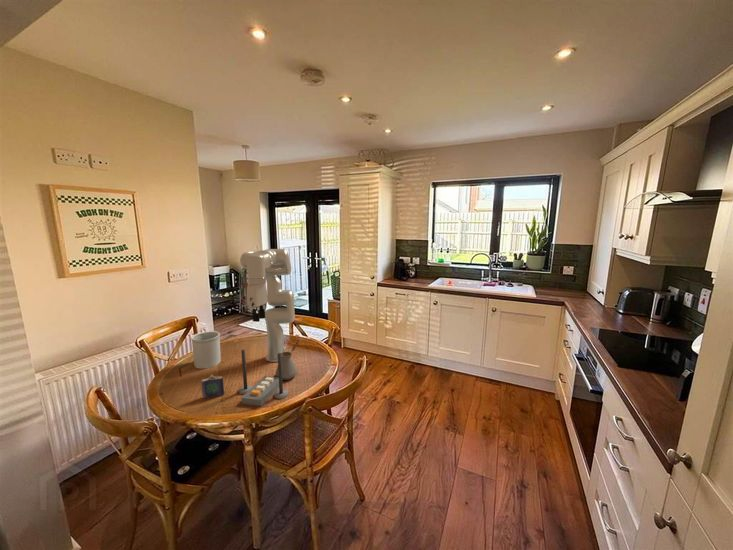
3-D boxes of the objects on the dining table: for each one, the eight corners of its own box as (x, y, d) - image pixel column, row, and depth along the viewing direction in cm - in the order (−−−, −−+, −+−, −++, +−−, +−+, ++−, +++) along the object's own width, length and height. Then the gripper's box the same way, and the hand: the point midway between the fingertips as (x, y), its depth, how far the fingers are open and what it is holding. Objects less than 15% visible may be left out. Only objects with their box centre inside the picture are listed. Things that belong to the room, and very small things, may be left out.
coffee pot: (291, 383, 150) (289, 356, 148) (271, 380, 153) (269, 353, 150) (308, 364, 170) (308, 340, 168) (291, 362, 173) (290, 338, 171)
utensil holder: (227, 358, 178) (225, 331, 176) (212, 370, 164) (209, 340, 161) (204, 357, 180) (202, 330, 177) (187, 368, 165) (184, 339, 162)
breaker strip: (264, 381, 152) (264, 373, 151) (282, 383, 150) (282, 375, 149) (241, 403, 132) (240, 394, 132) (261, 406, 130) (260, 397, 130)
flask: (202, 399, 136) (200, 378, 134) (203, 396, 138) (201, 375, 137) (223, 395, 139) (222, 374, 137) (224, 392, 141) (223, 372, 140)
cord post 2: (278, 390, 143) (276, 350, 140) (290, 392, 142) (288, 351, 138) (271, 398, 137) (269, 355, 133) (284, 399, 135) (282, 357, 132)
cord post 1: (243, 386, 147) (241, 347, 143) (255, 388, 145) (252, 348, 142) (236, 393, 140) (232, 352, 137) (247, 395, 139) (245, 353, 136)
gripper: (259, 278, 141) (261, 314, 144) (238, 284, 125) (240, 325, 128) (273, 278, 140) (275, 315, 143) (253, 285, 123) (256, 326, 126)
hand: (259, 319), depth 135 cm, fingers open, 4 cm apart
